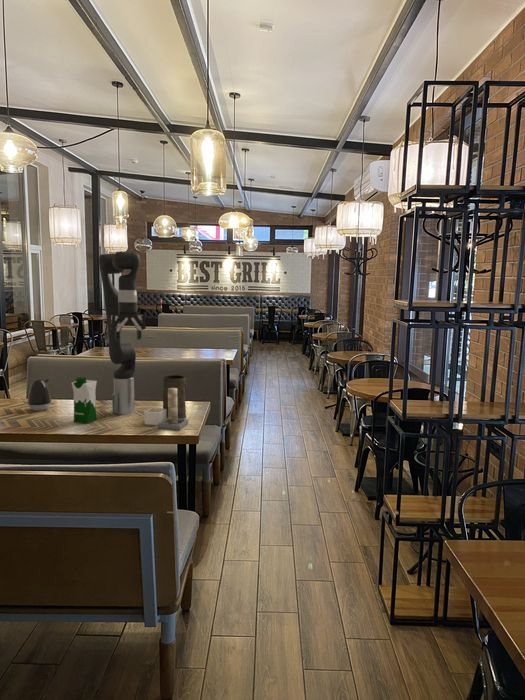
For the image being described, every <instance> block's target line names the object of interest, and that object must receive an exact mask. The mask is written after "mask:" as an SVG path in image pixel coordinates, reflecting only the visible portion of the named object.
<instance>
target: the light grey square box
mask: <svg viewBox="0 0 525 700" xmlns="http://www.w3.org/2000/svg"><path fill="white" fill-rule="evenodd" d="M143 412H144V414H143V415H144V425H149V426H151V425H152V426H158V423H160V422H161V421H163V420H164V419H166V409H163V408H161V407H160V408H159V407H157V408H156V407H150V408H148V409H147V410H145V411H143Z"/></svg>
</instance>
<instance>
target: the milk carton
mask: <svg viewBox="0 0 525 700" xmlns="http://www.w3.org/2000/svg"><path fill="white" fill-rule="evenodd" d="M97 383H98V380H92V379H91V380H90V379H87V377H84V376H79V377H76V378H75V381H72V382H71V387H72V390H73V393H72V394H73V423H77V422H78V423H80V424H85V423H87V424H90V423H92V422H95V421H97V420H98V418H97V417H98V416H97V409H96V408H97V403H96V398H97V397H96V390H97V389H96V388H97ZM94 420H95V421H94ZM89 422H90V423H89Z"/></svg>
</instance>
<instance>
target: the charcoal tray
mask: <svg viewBox="0 0 525 700" xmlns="http://www.w3.org/2000/svg"><path fill="white" fill-rule="evenodd" d="M188 424H189V418H185V419H178V425H174V424H168V418H166V419H164V420H163V421H161V422H160V423H158V425H157V430H172V431H181V430H182V429H183V428H185V427H186V426H187V425H188Z"/></svg>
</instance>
